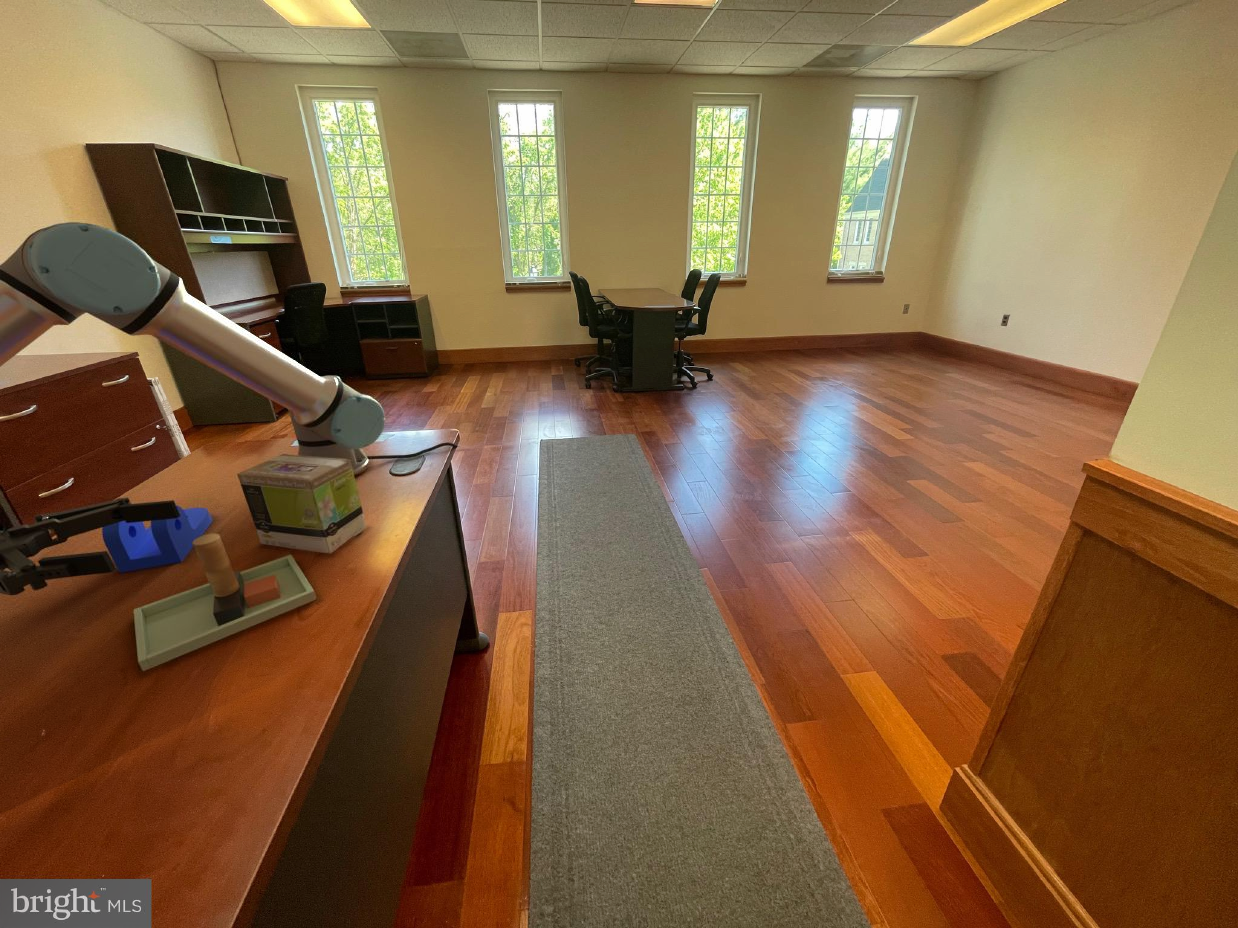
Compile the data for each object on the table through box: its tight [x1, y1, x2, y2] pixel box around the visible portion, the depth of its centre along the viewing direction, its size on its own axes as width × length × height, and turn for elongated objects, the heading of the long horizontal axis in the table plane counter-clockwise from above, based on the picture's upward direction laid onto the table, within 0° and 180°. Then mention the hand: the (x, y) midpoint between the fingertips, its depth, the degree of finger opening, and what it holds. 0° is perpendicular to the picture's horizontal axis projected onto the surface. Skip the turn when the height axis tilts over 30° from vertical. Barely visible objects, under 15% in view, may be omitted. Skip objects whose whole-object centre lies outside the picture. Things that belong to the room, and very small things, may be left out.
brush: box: [192, 533, 245, 627], centre depth 69 cm, size 3×10×12 cm, turn 36°
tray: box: [133, 554, 317, 672], centre depth 70 cm, size 20×14×2 cm
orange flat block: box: [244, 575, 280, 608], centre depth 73 cm, size 4×4×2 cm
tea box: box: [236, 453, 367, 554], centre depth 87 cm, size 15×10×15 cm, turn 78°
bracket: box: [101, 504, 213, 573], centre depth 86 cm, size 18×8×9 cm, turn 21°
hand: (145, 532), depth 65 cm, fingers open, 13 cm apart
